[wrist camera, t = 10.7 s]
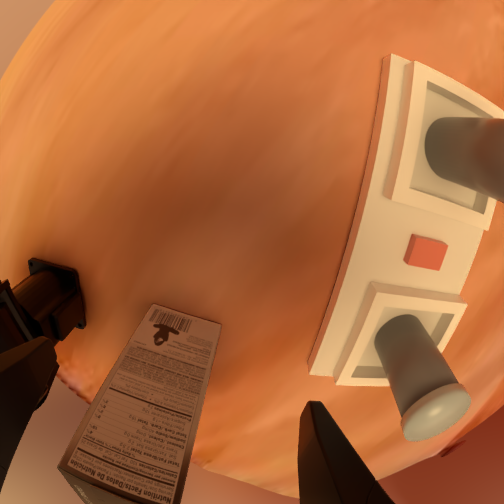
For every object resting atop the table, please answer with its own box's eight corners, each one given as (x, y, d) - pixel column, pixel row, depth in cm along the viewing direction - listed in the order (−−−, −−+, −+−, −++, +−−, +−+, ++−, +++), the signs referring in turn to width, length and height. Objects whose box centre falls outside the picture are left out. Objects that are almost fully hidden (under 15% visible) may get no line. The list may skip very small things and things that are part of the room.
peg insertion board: (307, 362, 24) (318, 466, 14) (383, 58, 14) (472, 8, 5) (408, 367, 24) (443, 450, 14) (494, 114, 14) (589, 124, 5)
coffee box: (203, 389, 26) (169, 535, 11) (143, 370, 26) (84, 504, 11) (224, 322, 23) (179, 519, 8) (149, 298, 22) (50, 466, 7)
